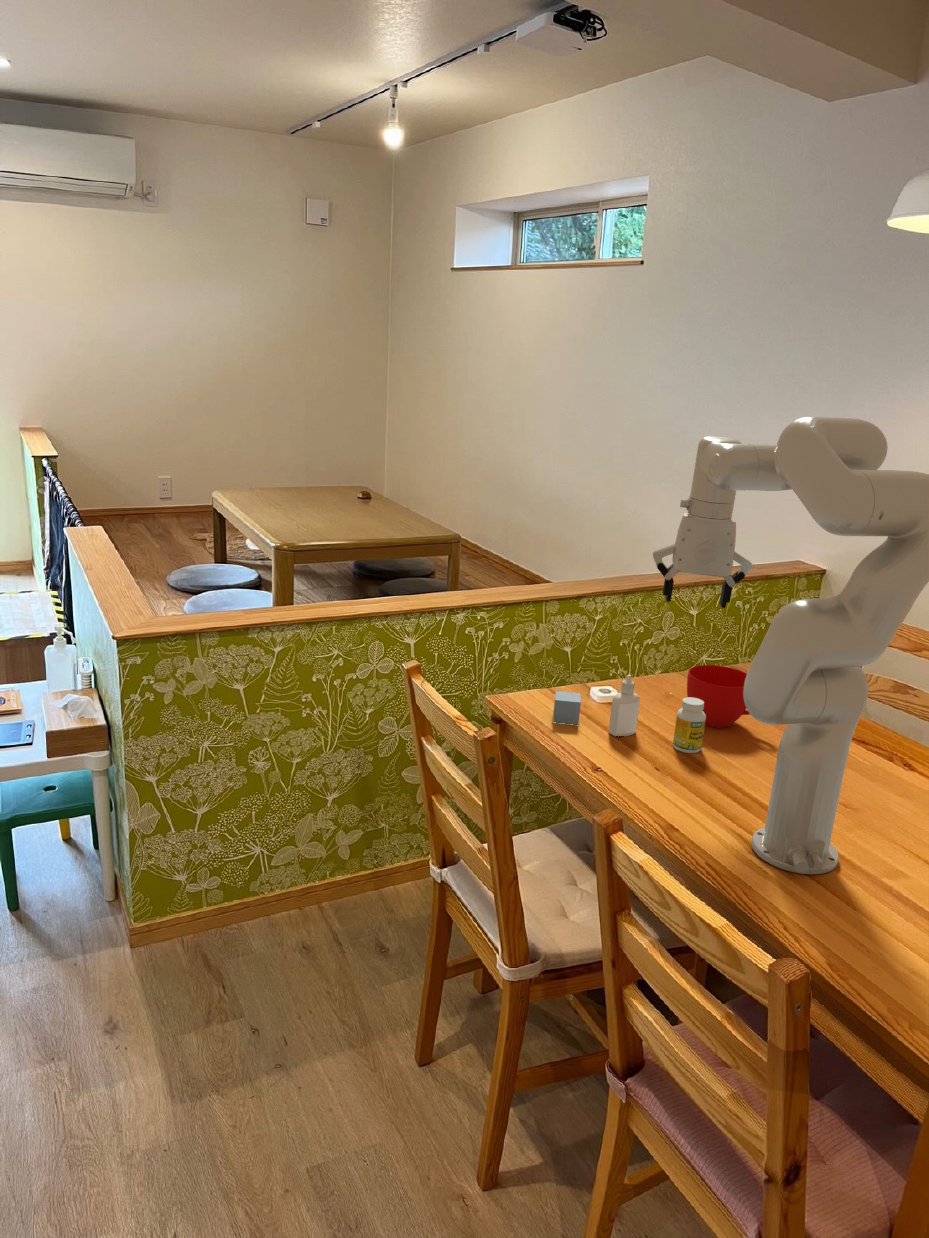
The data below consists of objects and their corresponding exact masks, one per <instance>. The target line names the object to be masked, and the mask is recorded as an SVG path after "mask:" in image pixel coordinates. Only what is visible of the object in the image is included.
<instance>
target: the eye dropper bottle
mask: <svg viewBox="0 0 929 1238" xmlns="http://www.w3.org/2000/svg"><path fill="white" fill-rule="evenodd" d="M625 678H626V679H623V680H622V681H621V687H620V692H618V693H616V694H615V695H614V696H613V697H612V701H611V708H610V715H609V725H608V733H609V734H610V735H612V736H613V737H616V736H618V738H619V736H624V737H629V736H632V735H634V734H635V733H636V732H637V726H638V717H639V711H640V710H639V709H640V703H641V702H640V701H641V697H640V695H638V694H637V693H636V692H635V683H636V682H634V681H633V680H632V675H631V674H627V675H626V677H625Z"/></svg>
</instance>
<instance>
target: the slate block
mask: <svg viewBox="0 0 929 1238" xmlns="http://www.w3.org/2000/svg"><path fill="white" fill-rule="evenodd" d="M581 695H582V694H581V692H570V691H559V690H555V694H554V703H553V704H554V705H553V715H552V723H553V722H556V723H555V724H557V723H565V724H564V725H566V724H573V725H572V726H576V725H578V726H579V721H580V712H581V702H582V697H581Z"/></svg>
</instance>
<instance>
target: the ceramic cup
mask: <svg viewBox="0 0 929 1238" xmlns="http://www.w3.org/2000/svg"><path fill="white" fill-rule="evenodd" d="M747 673H748V672H745V671H742V670H739V669H737V668H733V667H729V666H722V665H715V664H703V665H701V664H700V665H696V666H693V667H691V668H690V669H688V672H687V681H686V695H687V696H686V698H687V697H692V698H697V699H700V700H702V701H703V702H704V709H703V710H702V711H703V712H704V713H705V715H706V721H705V726H706V727H711V728H717V729H724V728H728V727H730V726H731V725H732V724H734V723H736V721H738V720H739V719H740V718H741V717H742V716H746V715H747V716H751V715H750V713H749V712H748V710H747V708H746V706H745V702H744V694H743V692H744V683H745V679H746V675H747Z"/></svg>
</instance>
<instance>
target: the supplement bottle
mask: <svg viewBox="0 0 929 1238" xmlns="http://www.w3.org/2000/svg"><path fill="white" fill-rule="evenodd" d="M703 709H704V702H703V701H702V700H700V699H697V698H692V697H687V696H686V697H684V698H682V701H681V708H679V709H678V711H677V713H676V720H675V727H674V733H673V742H672V746H673V748H674V749H675V750H677V751H679V752H681V753H686V754H696V753H699V752H701V750H702V746H703V740H704V733H705V726H706V725H705V721H706V715H705V713H704V712H703V711H702V710H703Z"/></svg>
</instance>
